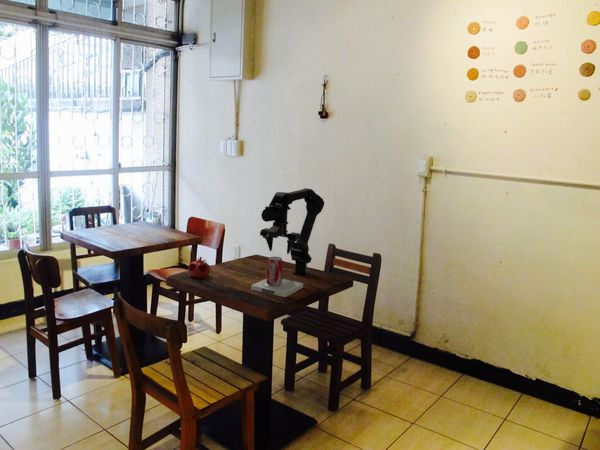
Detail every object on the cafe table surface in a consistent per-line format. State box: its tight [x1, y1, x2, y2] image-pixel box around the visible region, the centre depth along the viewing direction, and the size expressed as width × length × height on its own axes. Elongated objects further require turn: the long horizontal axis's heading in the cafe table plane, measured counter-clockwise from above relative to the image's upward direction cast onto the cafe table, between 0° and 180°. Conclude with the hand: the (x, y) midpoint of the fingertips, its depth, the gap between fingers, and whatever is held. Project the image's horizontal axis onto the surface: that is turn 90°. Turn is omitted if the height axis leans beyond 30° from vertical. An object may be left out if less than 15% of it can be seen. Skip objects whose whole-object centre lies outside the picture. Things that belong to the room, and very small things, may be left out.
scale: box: [250, 278, 304, 298], centre depth 233 cm, size 17×17×2 cm
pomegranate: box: [188, 256, 211, 279], centre depth 245 cm, size 10×10×9 cm
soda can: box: [265, 256, 284, 286], centre depth 229 cm, size 7×7×12 cm
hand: (279, 252), depth 245 cm, fingers open, 9 cm apart
